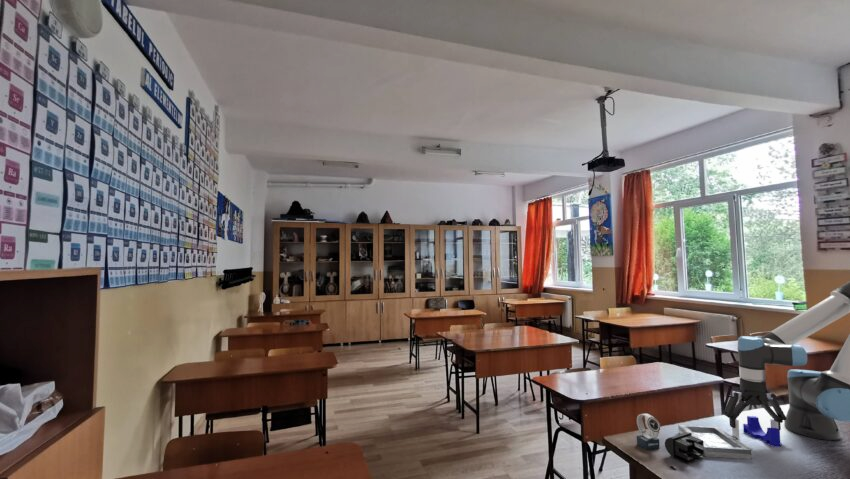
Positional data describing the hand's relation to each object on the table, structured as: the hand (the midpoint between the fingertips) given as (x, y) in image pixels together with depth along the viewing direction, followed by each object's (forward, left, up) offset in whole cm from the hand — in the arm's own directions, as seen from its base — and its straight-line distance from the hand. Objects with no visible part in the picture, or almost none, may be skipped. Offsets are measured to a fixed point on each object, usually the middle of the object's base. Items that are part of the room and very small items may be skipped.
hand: (755, 437), depth 142 cm
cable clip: (-2, 0, -1) cm, 2 cm away
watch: (+42, +12, 0) cm, 44 cm away
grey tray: (+19, +8, 0) cm, 21 cm away
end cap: (+33, +18, -1) cm, 38 cm away
